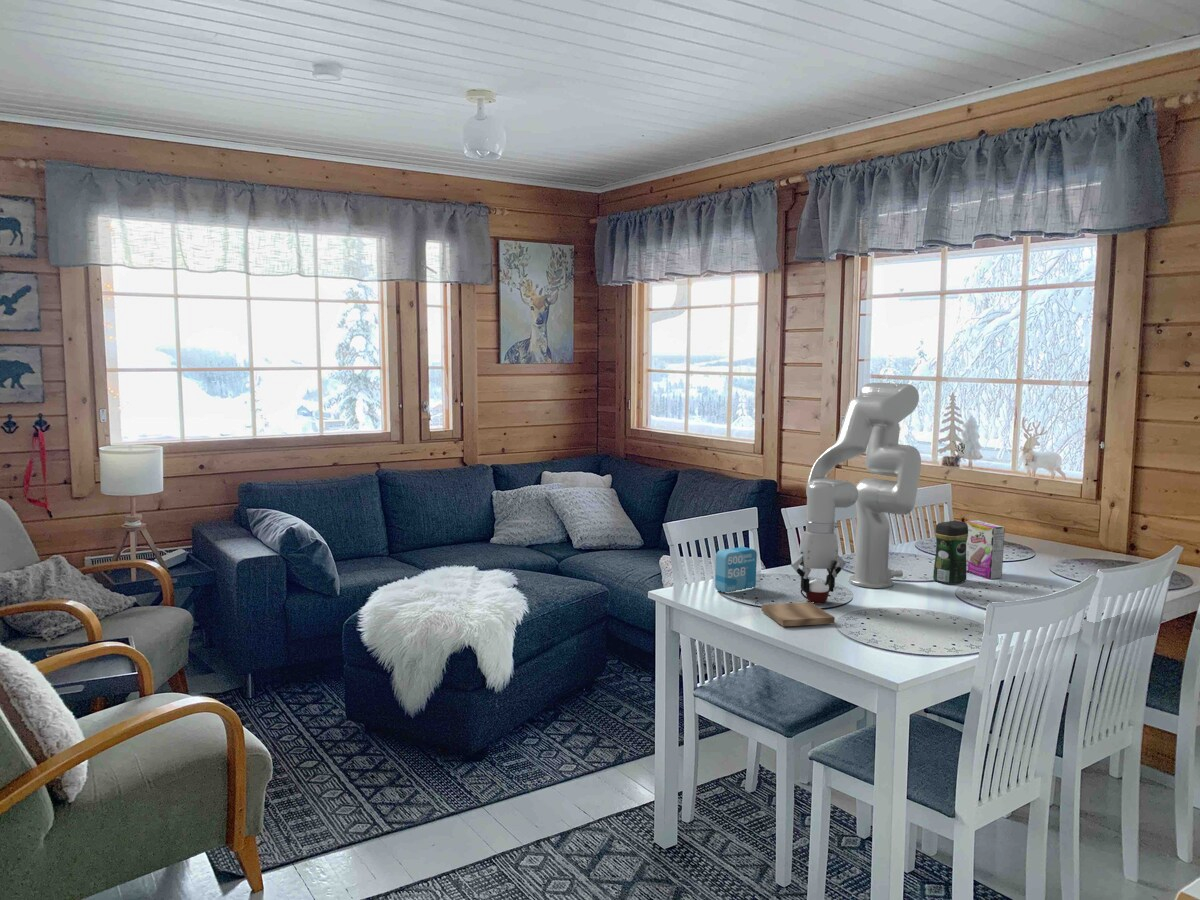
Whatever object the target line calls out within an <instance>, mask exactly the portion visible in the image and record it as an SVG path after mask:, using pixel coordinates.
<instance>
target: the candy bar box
mask: <svg viewBox="0 0 1200 900" xmlns="http://www.w3.org/2000/svg"><path fill="white" fill-rule="evenodd" d="M966 524H967V525H968V538H967V543H966V571H967V572H966V573H969V572H970V573H969V574H972V573H973V574H972V575H976V576H979V577H981V576H982V578H984V577H985V579H988V580H998V579H997V578H999V579H1002V577H1003V561H1004V547H1005V545H1004V544H1005V531H1006V529H1005V526H1002V525H998V524H995V523H990V522H988V521H987V522H986V521H983V520H978V519H977V520H968V521H966Z"/></svg>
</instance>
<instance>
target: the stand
mask: <svg viewBox="0 0 1200 900" xmlns="http://www.w3.org/2000/svg"><path fill="white" fill-rule="evenodd" d="M761 611H762V612H763V613H764V614H765V615H767V616H768V617H770V618H771V619H772V620H773V621H775V622H776V623H778V624H779V625H780V626H781V627H785V628H787V627H795V626H798V627H799V626H811V625H812V626H814V625H831V624H835V616H833V615H832V614H830V613H829V612H827V611H825V610H823V609H822V608H821V607H819V606H818V605H817V604H815V603H811V602H810V601H807V602H805V601H802V602H791V603H790V602H788V603H787V602H786V603H785V602H784V603H771V604H770V603H769V604H768V603H767V604H766V603H765V604H761Z"/></svg>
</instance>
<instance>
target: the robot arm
mask: <svg viewBox="0 0 1200 900" xmlns="http://www.w3.org/2000/svg"><path fill="white" fill-rule="evenodd" d="M859 390H860V391H859V396H855V397H853V398H852V399H850V400H849V401H848V402H849V403H848V404H847V408H846V410H845V414H844V417H843V420H842V423H841V426H840V429H839V432H838V435H837V439H836V441H835V442H834V444H833V445H832V446H830V447H828V448H827V449H826V450H825V451H824V452H823V453H822V454H821V455H820V456H819V457H818V458H817V459H816V461H814V463H813V466H812V468H811V470H810V473H809V476H808V479H807V483H806V486H805V487H806V488H805V492H806V493H805V494H806V495H805V496H806V497H807V498H806V520H805V530H804V531H802V534H801V537H800V544H799V549H798V556H797V558H795V559H794V560H793V562H791V563H790V565H791V568H793V570H794V571H795V572H796V574H798V575H799V577H800V590H801V589H802V592H804V594H806V593H808V592H809V582H810V579H809V575H810V573H811V571H812V570H825V569H826V572H827V575H826V578H825V581H826V580H827V578H828V576H829V573H830V571H831V569H832V567H833V564H834V562H835V561H837V563H836V566H835V568H834V570H833V572H832V575H831V577H830V579H829V582H828V585H829V592H831V593H833V592H834V591H835V590H834V588H835V584H836V583H835V582H836V578H837V577H838V575H839V574H840V572H841V571H842V569H843V568H844V567H845V566H846V564H847V562H846V561H845V560H844V559H843V558H842V557H841V556H840V555H839V544H838V537H837V532H835V531H836V530H835V529H837V528H839V526H840V525H839V523H838V522H835V518H836V517H835V516H836V514H835V513H836V509H837V508H839V509H840V508H842V509H847V508H850V507H852V506H854V504H855V508H856V509H855V510H856V532H855V533H856V535H855V555H854V556H855V558H854V574H853V575H851V576H849V577H848V582H849V583H850V584H852V585H854V586H858V587H862V588H869V589H887V588H890V587H892V586H893V585H894V584H893V583H894V581H893V580H892V579H893V578H894V577H896V578H901V577H903V575H904V572H903V571H902V570H901V569H900V570H895V569H891V568H889V557H890V556H889V554H890V534H891V530H890V529H891V526H890V521H889V520H888V517H887V516H886V514H885V513H888V514H891V515H892V514H894V515H900V516H904V515H908V514H910V513H911V512H912V511H913V509H914V507H915V504H916V501H917V500H916V499H917V494H918V487H919V482H920V475H921V468H922V458H921V454H920V451H919V449H917V447H915V446H913V445H909V444H899V438H900V434H901V426H900V424H899V423H901V422H902V421H903V420H904V419H906V417H908V416H909V415H911V414H912V413H913V412H914V411H915V410H916V408H917V407H918V404H919V401H920V395H919V391H918V389H917V388H916V387H915V386H914V385H912V384H910V383H894V382H870V383H866V384H863V385H862V386H861V388H860V389H859ZM865 452H866V454H865ZM864 454H865V461H864V462H865V464H864V465H865V468H866V470H867V471H868V472H869V473H872V474H874V475H880V476H888V477H896V478H897V480H896V481H895V480H889V479H883V478H881V479H880V478H872V477H871V478H870V477H869V478H864V479H861V480H860V481H859V482H858V483H856V484H854V483H853V482H851V481H848V480H841V479H835V478H828V477H827V476H828V475H829V474H830V472H831V470H832V469H834V467H836V466H837V465H840V464H842V463H844V462H846V461H849V460H852V459H854V458H857V457H859V456H862V455H864ZM800 566H802V568H800Z"/></svg>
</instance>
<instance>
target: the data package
mask: <svg viewBox="0 0 1200 900" xmlns="http://www.w3.org/2000/svg"><path fill="white" fill-rule="evenodd" d="M757 555H758V554H757V550H756V549H754V548H753V549H752V548H749V547H745V546H741V547H740V546H739V547H731V548H725V549H719V550H718V551H717V552H716V553H715V570H714V571H715V572H714V573H715V574H714V577H715V578H714V588H715V590H716V591H717V590H718V592H720V591H721V592H720V593H723V592H731V591H736V590H742V589H746V588H752V587H755V588H756V585H757V562H758V561H757V560H758V559H757Z"/></svg>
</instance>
